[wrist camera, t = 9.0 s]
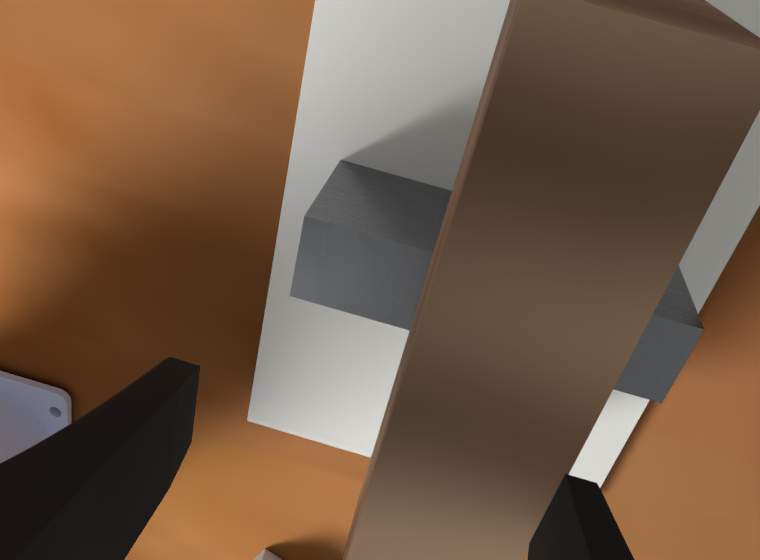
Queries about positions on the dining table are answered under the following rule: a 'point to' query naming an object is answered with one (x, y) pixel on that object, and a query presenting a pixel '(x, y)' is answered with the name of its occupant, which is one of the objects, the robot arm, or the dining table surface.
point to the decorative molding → (266, 556)
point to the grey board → (431, 166)
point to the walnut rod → (551, 263)
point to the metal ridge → (412, 259)
